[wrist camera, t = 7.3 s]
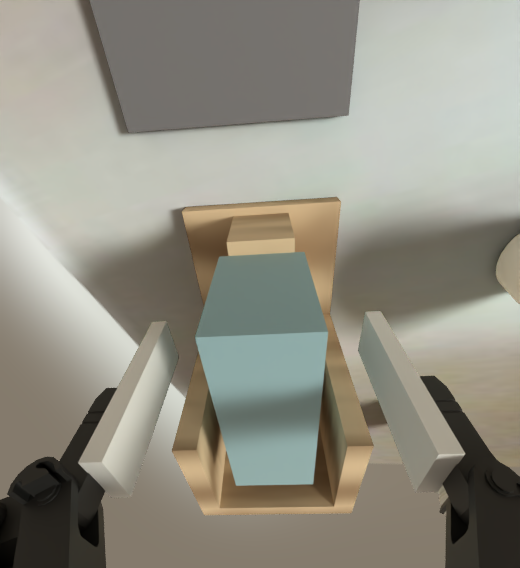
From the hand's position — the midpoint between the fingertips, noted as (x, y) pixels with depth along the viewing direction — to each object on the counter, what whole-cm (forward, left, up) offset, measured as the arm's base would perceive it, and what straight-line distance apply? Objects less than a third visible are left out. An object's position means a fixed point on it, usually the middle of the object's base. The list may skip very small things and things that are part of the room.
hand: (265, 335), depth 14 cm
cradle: (+4, 0, -7) cm, 8 cm away
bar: (+2, 0, -2) cm, 3 cm away
